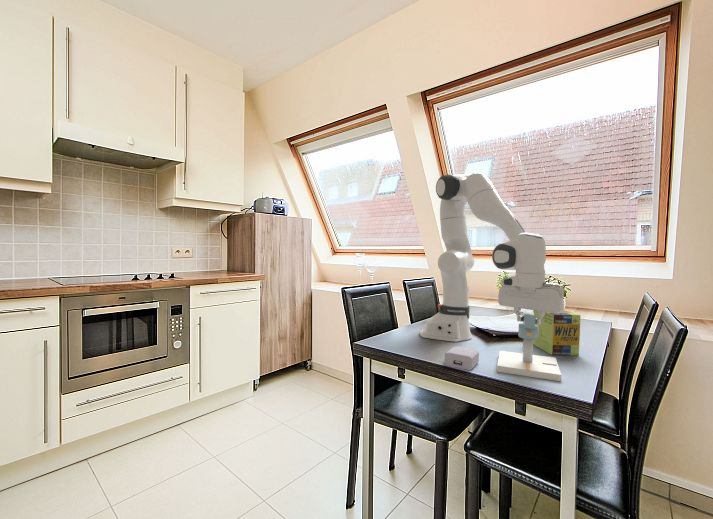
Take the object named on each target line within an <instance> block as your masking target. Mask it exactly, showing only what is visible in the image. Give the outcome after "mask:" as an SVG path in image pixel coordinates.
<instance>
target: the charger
mask: <svg viewBox="0 0 713 519" xmlns="http://www.w3.org/2000/svg"><path fill="white" fill-rule="evenodd" d="M479 359H480V352H479V351H478V350H477V349H472V348H467V347H461V346H453V347H451V349H449V350H447V352H445V353H444V360H443V363H444V365H445V366H448V367H451V368H452V367H453V368H457V369H463V370H468V371H471V370H473V368H474V367H475V366H477V364H478V363H479V361H480V360H479Z"/></svg>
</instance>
